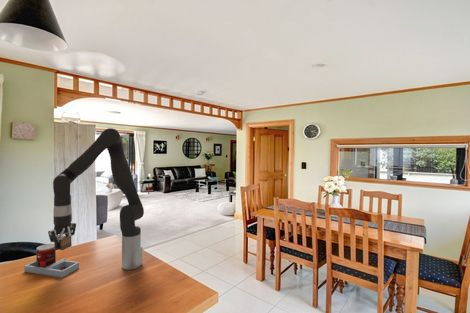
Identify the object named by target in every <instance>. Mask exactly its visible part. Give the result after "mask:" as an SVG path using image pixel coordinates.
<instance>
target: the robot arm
mask: <svg viewBox="0 0 470 313" xmlns="http://www.w3.org/2000/svg"><path fill="white" fill-rule="evenodd" d="M106 149H107V151H108V152H107V153H108V154H109V158H110V170H111V174H112V175H111V176H112V179H113V181H114V185H115V186H116V187H117V188H118V189H119V190H120V191H121V192H122V193H123V195H124V196H125V197H126V200H127V203H128V204H126V205H124V206H122V207H121V209H120V210H119V228H120V232H121V267H122V270H127V271H129V270H137V269H138V268H139V267H140V266H142V265H143V246H142V245H141V244H142V243H141V242H142V241H141V238H142V236H141V235H142V234H141V232H142V231H141V227H140V226H137V225H136V222H135V221H138V220H140V219H142V218H143V216H144V214H145V211H144V210H145V209H144V207H143V203H142V201H141V198H140V196H139V193H138V191H137V188H136V184H135V181H134V179H133V175H132V171H131V168H130V165H129V162H128V159H127V157H126V155H125V152H124V148H123V140H122V136H121V134H120V133H119V131H118V130H117V129H116V128H113V127H109V128H106V129H104V130H103V131H102V132H101V133H100V135H99V136H98V137H97V138H96V140H94V141H93V143H92V144H91V145H90V146H89V147H88V148H87V149H86V150H85V151H84V152H83V153H81V155H79V156H78V157H77V158H76V159H75V160H74V161H72V162H71V163H70V164H69V165H68V167H66V168H65V169H64V170H62V171H61V172H60V173H59V174H58V175H56V176H55V178H53V181H52V188H53V196H54V197H53V210H52V212H53V224H54V228H53V229H52V230H48V231H47V233H48V238H49V240H50V242H51V243H54V242H55V249H56V250H57V249H58V251H60V250H59V249H60V240H61V237H62V236H70V237H71V238H72V237H73V236H75V233H76V228H77V223H76V222H74V223H73V222H72V221H73V211H72V210H73V209H72V207H73V206H72V194H71V184H72V183H73V181H75V180H76V179H77V178H78V177H79V176H80V175H82V174H83V173H85V171H87V170H88V169H89V168H90V167H91V166H92V165H93V164H94V163H95V161H96V160H97V158H98V157H99V156H100V155H101V154H102V152H104V151H105V150H106Z"/></svg>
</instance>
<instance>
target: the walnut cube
mask: <svg viewBox="0 0 470 313" xmlns="http://www.w3.org/2000/svg"><path fill="white" fill-rule="evenodd" d="M53 244H54V249H55V242H53ZM72 244H73V243H72V237H70V236H65V235H63V236H62V237H61V240H60V249H59V250H58V249H56V250H58V251H64V250H66V249H69V248H72Z"/></svg>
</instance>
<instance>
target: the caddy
mask: <svg viewBox="0 0 470 313" xmlns="http://www.w3.org/2000/svg"><path fill="white" fill-rule="evenodd" d="M64 267H65V269H62V268H64ZM79 268H80V262H79V261H72V260H67V258H66V257H65V258H62V259H60V260H58V261H56V263H54V264H52V265H50V266H48V267H46V268H43V267H37V260H34V261H32V262H30V263H28V264H25V265H24V272H25V273H31V274H37V275H44V276H50V277H57V278H64V277H66V276H68V275H70V274H71V273H73V272H75V271H76V270H78V269H79ZM61 269H62V270H61Z"/></svg>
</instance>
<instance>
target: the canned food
mask: <svg viewBox="0 0 470 313" xmlns="http://www.w3.org/2000/svg"><path fill="white" fill-rule="evenodd" d="M35 250H36V251H35V258H36V261H37V267H43V268H46V267H48V266H50V265H52V264H54V263H56V262H57V261H56V259H57V258H56V256H57V255H56V252H57V251H56V250H57V249H54V243H45V244H42V245H39V246H37V247H36V249H35Z"/></svg>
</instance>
